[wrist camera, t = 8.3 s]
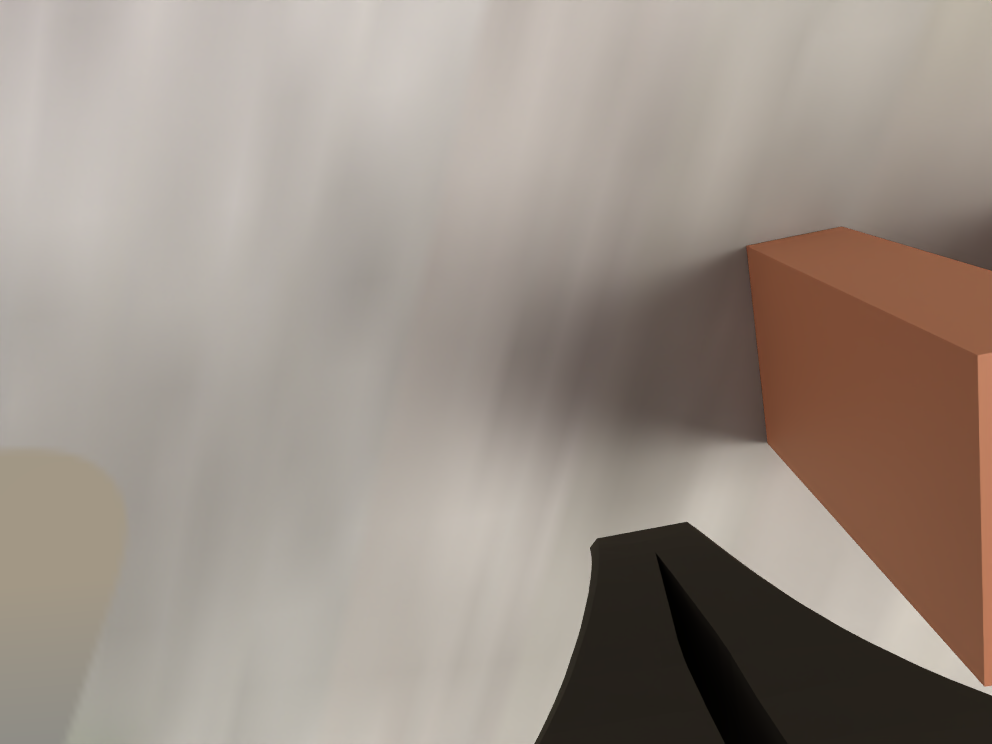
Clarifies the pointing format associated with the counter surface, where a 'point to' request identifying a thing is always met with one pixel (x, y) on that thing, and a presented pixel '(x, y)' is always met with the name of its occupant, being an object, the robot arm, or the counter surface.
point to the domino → (888, 411)
